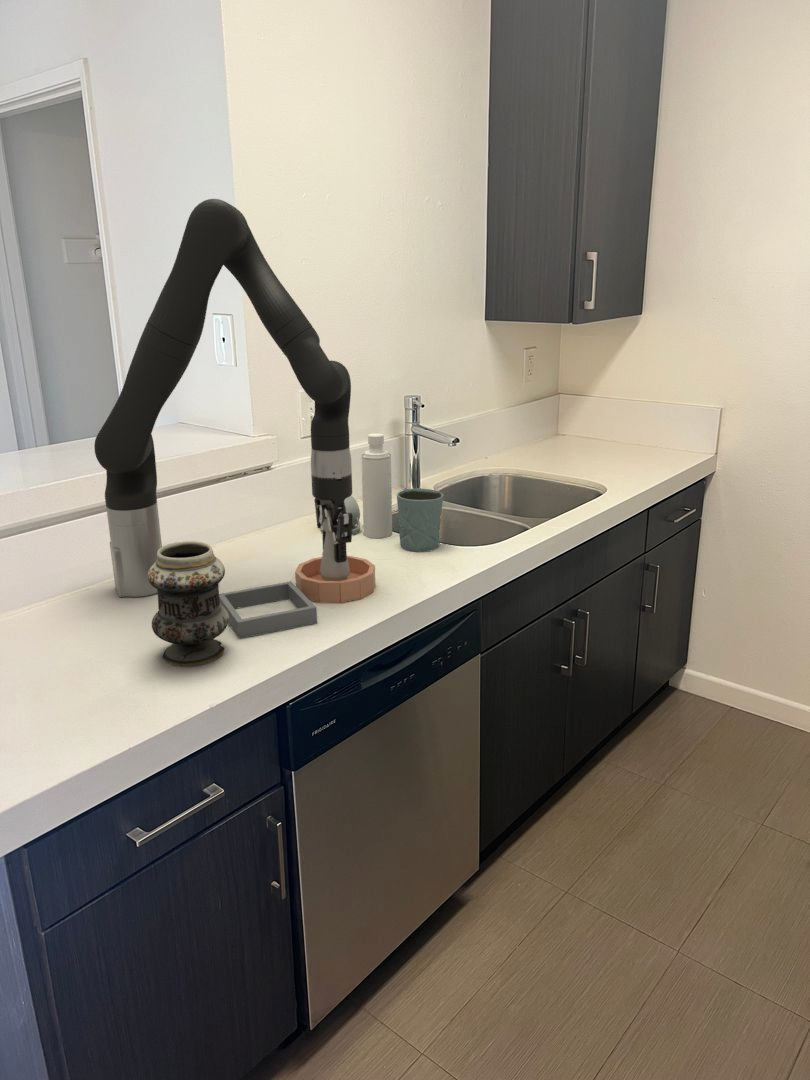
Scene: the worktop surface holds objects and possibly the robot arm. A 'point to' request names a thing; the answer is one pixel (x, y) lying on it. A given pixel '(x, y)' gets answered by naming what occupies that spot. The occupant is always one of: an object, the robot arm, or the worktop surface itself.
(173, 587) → the apothecary jar
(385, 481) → the grey bottle
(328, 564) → the salt shaker
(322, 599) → the terracotta bowl
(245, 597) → the tray
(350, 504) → the ceramic mug
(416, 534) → the drinking glass
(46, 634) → the worktop surface
